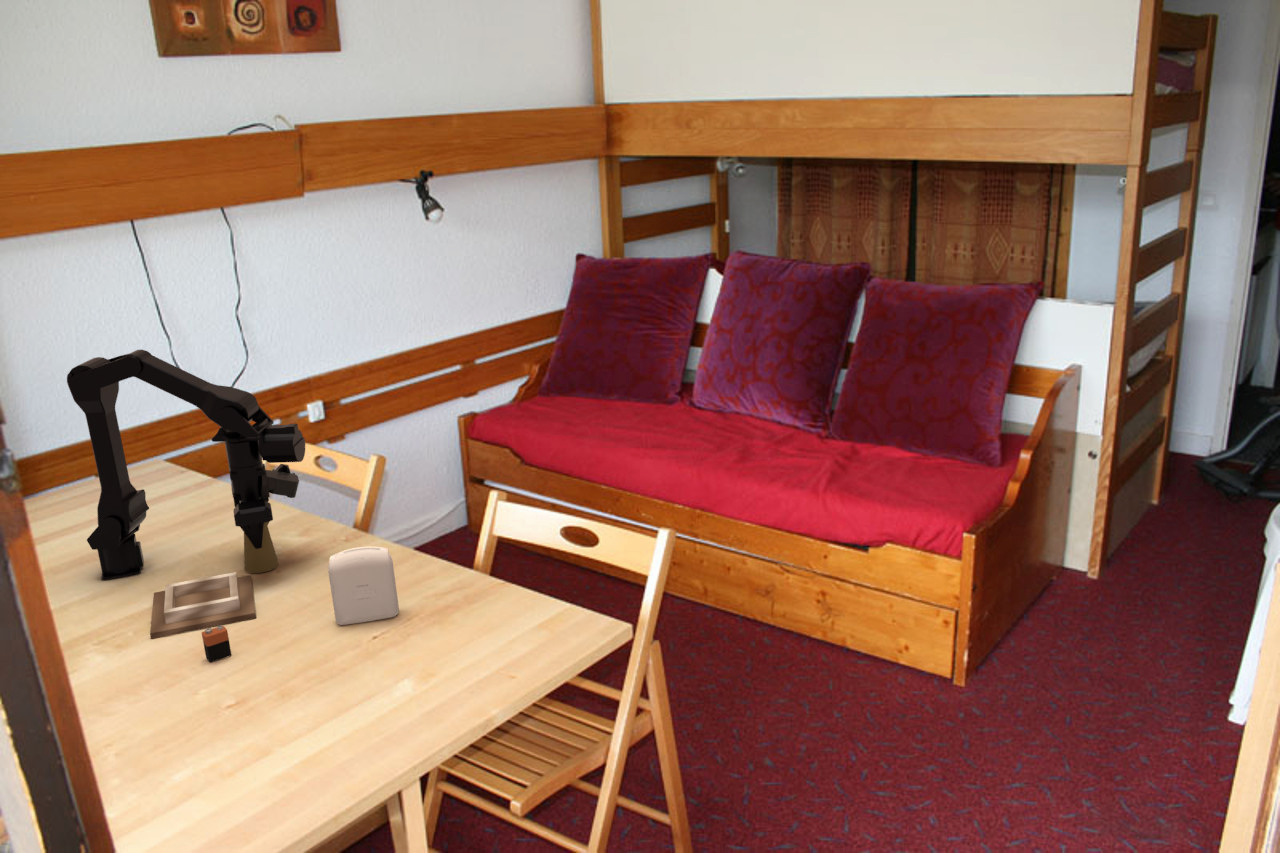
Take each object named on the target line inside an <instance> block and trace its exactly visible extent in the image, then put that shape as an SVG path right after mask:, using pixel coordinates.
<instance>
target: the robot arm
mask: <svg viewBox="0 0 1280 853" xmlns="http://www.w3.org/2000/svg"><path fill="white" fill-rule="evenodd" d="M130 378H135V379H138V380H140V381H143V382H145V383H147V384H149V385H151V386H153V387H155V388H158V389H160V390H162V391H164V392H166V393H168V394H170V395H171V396H174V397H176V398H178V399H180V400H182V401H185V402H187V403H189V404H190V405H193V406H195V407H196V408H198V409H199V410H200V411H202V413H203V414H204V415H205V416H206V417H207V419H209V420H210V421H212V422H213V423H214V424H216V425H218V426H219V428H218V430H217V432H216V434H215V435H214V436H213V437H211V442H213V443H217V442H218V443H219V442H221V443H222V442H223V443H224V445H225V453H226V458H227V464H228V465H227V466H228V470H229V471H228V472H229V479H230V484H231V485H230V486H231V493H232V499H233V505H234V508H233V518H234V524H235V527H238V528H240V529H241V530H242V531H243V534H244V533H245V534H246V536H247V537H248V539H249V540H250V542H251V543H252V544H253V546H254V547H255V549H259V548H262V539H263V527H264V523H265V522H269V523H270V522H272V521H273V520H274V517H273V516H274V515H273V510H272V505H271V503H270V502H269V501H270V497H271V496H270V495H271V494H272V495H279V496H284V497H287V498H291V499H295V498H296V496H297V491H298V488H299V483H300V480H299V476H298V475H297V474H296V473H295V472H291V469H290V466H289V464H285V463H301V462H302V461H303V460H304V459H305V453H306V439H305V437H304V436H303V433H302V431H301V430H300V429H299V425H298V423H295V422H294V423H288V424H274V423H275V422H274V420H273V419H272V418H271V417H270V416H269V414H268V413H266V412H265V411H264V409H263V408H262V407H260V406H259V403H258V400H257V397H256V396H255V395H253V394H252V393H250V392H248V391H246V390H243V389H239V388H236V387H232V386H227V385H217V384H214V383H211V382H209V381H207V380H205V379H202V377H201V378H200V377H198V376H197V375H194V374H192V373H190V372H188V371H185V369H182V368H180V367H178V366H175V365H173V364H171V363H169V362H167V361H165V360H163V359H161V358H159V357H156V356H155V355H152V353H150V352H149V350H148V351H147V350H145V349H136V350H134V351H132V352H130V353H125V354H121V355H118V356H115V357H112V358H109V359H108V358H105V357H102V356H97V357H93V358H91V359H89V360H87V361H84V362H83V363H81V364H78V365H76V366H74V367H72V368H71V370H70V371H69V372H68V373H67V376H66V383H67V386H68V390H69V392H70V393H71V397H72V399H73V402H75V404H76V405H77V406H78V407H79V409H81V410H82V412H83V413H84V415H85V419H86V423H87V428H88V433H89V438H90V442H91V447H92V451H93V456H94V461H95V466H96V470H97V475H98V476H97V477H98V479H99V481H98V482H99V485H100V495H99V499H98V504H97V507H96V508H97V509H96V511H97V527H96V528H95V529H94V530H93V531H92V533H91V534H90V535H89V536H88V538H87V539H86V542H87V543H88V545H89V546H90V548H91V550H97V554H98V555H97V556H98V558H99V559H98V560H99V564H100V568H101V576H100V578H101V580H102V581H106V580H111V579H117V578H123V577H129V576H134V575H139V574H141V573H142V567H143V566H144V564H145V561H144V560H145V559H144V555H143V549H142V544H141V541H140V540H138V541H137V538H136V533H137V532H139V531H140V527H141V524H142V523H143V521H144V520H145V519H146V518H147V511H149V509H150V507H149V506H148V503H147V499H146V491H145V489H142V488H141V489H138V490H137V489H136V487H135V486H134V485H133V484H132V483H131V480H130V474H129V471H128V466H127V462H126V460H127V459H126V456H125V451H124V446H123V441H122V436H121V430H120V426H119V421H118V418H117V417H118V416H117V412H116V405H117V399H118V395H119V392H120V391H119V390H120V382H121V381H124V380H127V379H130ZM251 422H254V423H253V424H251ZM263 461H266V462H267V463H268V464H273V463H276V464H277V463H280V464H279V465H278V466H277V467H276V468H275V469H272V470H271V469H270V470H269V469H266V465H265V463H263Z"/></svg>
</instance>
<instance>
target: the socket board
mask: <svg viewBox="0 0 1280 853" xmlns="http://www.w3.org/2000/svg"><path fill="white" fill-rule="evenodd" d="M255 603H256V602H255V596H254V588H253V578H252V574H249V575H247V574H246V575H242V576H238V575H237V572H236V571H235V572H230V573H224V574H219V575H213V576H208V577H202V578H197V579H190V580H185V581H180V582H174V583H169V584H165V590H160V591H156V592H153V596H152V607H151V620H150V628H149V631H150V632H149V635H150V639H151V640H154V639H157V638H159V639H160V638H163V637H164V638H165V637H167V636H173V635H178V634H183V633H189V632H194V631H198V630H203V629H204V630H205V629H208V628H215V627H217V626H220V625H222V626H224V625H228V624H235V623H239V622H244V621H249V620H253V619H257V615H256V613H257V612H256V604H255Z"/></svg>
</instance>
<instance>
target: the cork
mask: <svg viewBox="0 0 1280 853" xmlns="http://www.w3.org/2000/svg"><path fill="white" fill-rule="evenodd" d="M269 524H270V522H265V523H264V527H263V539H262V548H259V549H255V547H254V546H253V544H252V543H251V542H250V540H249V539H248V537H247V536H246V534H245V533H244V532H243V560H244V561H243V562H244V564H243V565H244V566H243V567H244V569H243V570H244V571H245V572H246V573H249V574H262V573H266V572H269V571H272V570H274V569H276V568H277V567H278V566H279V560H278V557H277V553H276V550H275V546H274V543H273V540H272V537H271V533H270V530H269V527H268V525H269Z"/></svg>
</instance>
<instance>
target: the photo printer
mask: <svg viewBox="0 0 1280 853" xmlns="http://www.w3.org/2000/svg"><path fill="white" fill-rule="evenodd" d="M394 567H395V566H394V560H393V557H392V555H391V554H390V552H389V548H387V547H382V546H381V547H380V546H361V547H359V546H358V547H353V548H349V549H345V550H342V551H339V552H336V553H334V554H332V555H331V556H329V562H328V579H329V585H330V592H331V598H332V605H333V610H334V618H335V623H336V624H337V623H338V624H339V625H338V624H337V625H338V626H344V625H352V624H359V623H365V622H373V621H378V620H384V619H390V618H395V617H397V616H398V615H399V614H398V613H400V606H399V599H398V597H399V596H398V591H397V583H396V576H395V568H394ZM397 614H398V615H397ZM396 615H397V616H396Z"/></svg>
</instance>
